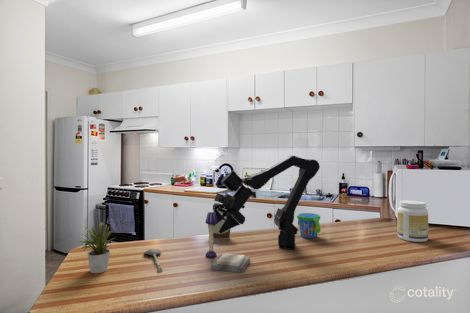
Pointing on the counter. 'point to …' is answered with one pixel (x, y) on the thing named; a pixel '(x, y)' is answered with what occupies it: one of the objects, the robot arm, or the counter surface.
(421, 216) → the supplement tub
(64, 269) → the counter surface
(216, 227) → the food container
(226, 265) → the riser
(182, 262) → the counter surface
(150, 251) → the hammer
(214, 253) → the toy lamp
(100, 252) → the house plant
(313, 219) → the snack cup
